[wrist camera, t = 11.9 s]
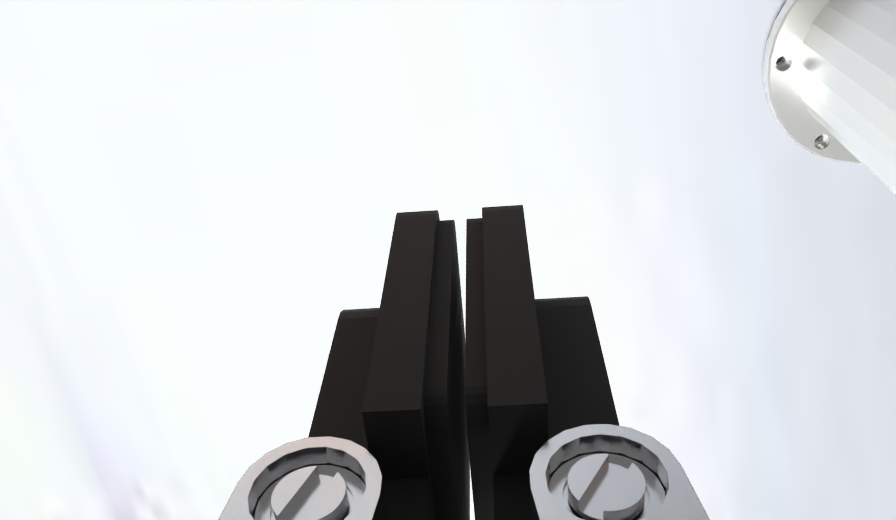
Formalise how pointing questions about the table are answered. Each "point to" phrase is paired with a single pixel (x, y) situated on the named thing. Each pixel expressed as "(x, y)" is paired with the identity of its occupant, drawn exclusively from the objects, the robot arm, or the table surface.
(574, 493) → the robot arm
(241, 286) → the table surface
